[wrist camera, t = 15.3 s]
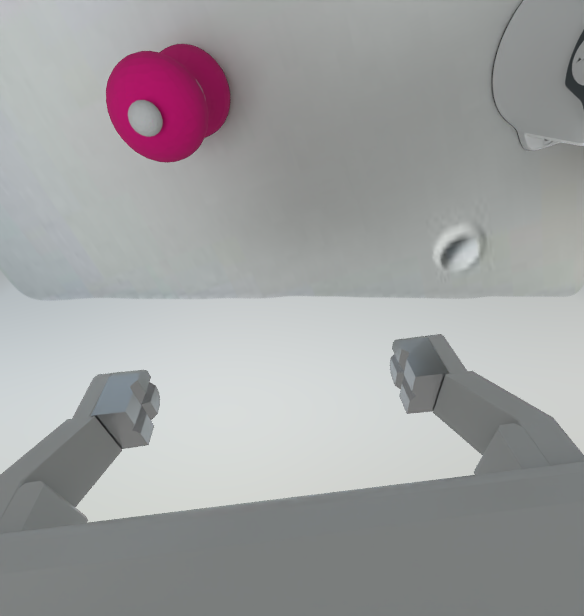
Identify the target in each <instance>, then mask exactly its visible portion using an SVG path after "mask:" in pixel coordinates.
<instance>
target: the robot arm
mask: <svg viewBox="0 0 584 616" xmlns="http://www.w3.org/2000/svg"><path fill="white" fill-rule="evenodd" d="M493 94H494V99H495V103H496V105H497V108H498V110H499V112H500V113H501V115H502V116H503V117H504V119H505V120H506V121H508V122H509V123H510V124H511V125H512V126H514V127H515V129H516V130H517V131H518V135H519V139H520V142H521V145H522V147H523V148H524V149H526V150H531V151H536V150H540V149H543V148H546V147H549V146H553V145H556V144H559V143H567V144H572V145H578V146H584V0H523V2H522V3H521V5H520V6H519V8H518V9H517V11H516V12H515V14H514V16H513V17H512V19H511V21H510V23H509V25H508V27H507V29H506V31H505V33H504V35H503V38H502V40H501V43H500V46H499V49H498V52H497V56H496V60H495V64H494V70H493ZM392 349H393V351H394V355H393V356H392V357H391V360H390V370H391V376H392V379H393V381H394V384H395V386H397V387H398V388H400V389H401V391H400V399H401V401H402V403H403V406H404V408H405V410H406V413H407V414H409V413H420V412H430V411H433V413H434V414H435V415H437V416H438V417H439V418H440V419H441V420H442V421H443V422H445V423H446V424H447V425H448V426H449V427H450V428H452V429H453V430H454V431H455V432H456V433H457V434H459V435H460V436H461V437H462V438H463V439H464V440H466V441H467V442H468V443H469V444H470V445H471V446H472V447H473V448H475V449H476V450H477V451H478V452H479V453H481V454H482V455H483V456H482V458H481V460H480V462H479V463H478V465H477V467H476V469H475V471H474V474H475V475H470V476H462V477H455V478H447V479H438V480H430V481H422V482H414V483H406V484H397V485H389V486H382V487H374V488H365V489H357V490H348V491H341V492H332V493H324V494H317V495H308V496H300V497H291V498H283V499H276V500H267V501H259V502H252V503H243V504H235V505H227V506H219V507H211V508H204V509H203V508H202V509H194V510H187V511H179V512H170V513H162V514H154V515H146V516H138V517H130V518H122V519H114V520H106V521H97V522H89V523H87V521H88V520H87V517H86V516H85V515H84V514H83V513H81V512H80V511H79V510H78V509H76V508H75V507H76V506H77V505H78V503H79V502H80V501H81V500H82V498H83V497H84V496H85V495H86V494H87V492H88V491H89V490H90V489H91V488H92V486H93V485H94V484H95V483H96V482H97V480H98V479H99V478H100V477H101V475H102V474H103V473H104V472H105V471H106V469H107V468H108V467H109V465H110V464H111V463H112V462H113V461H114V460H115V458H116V457H117V456H118V455H119V454H120V452H121V451H122V449H124V448H131V447H138V446H145V445H149V442H150V438H151V435H152V431H153V428H154V425H153V423H152V421H151V420H152V419H153V418H154V417H155V416H156V415H157V414H158V410H159V406H160V396H159V392H158V389H157V387H156V386H155V385H153V384H152V383H150V382H149V381H150V378H151V376H150V375H149V373H148V371H146V370H138V371H128V372H117V373H110V374H99V375H97V376H95V377H94V378H93V380H92V382H91V384H90V386H89V387H88V390H87V391H86V393H85V395H84V397H83V399H82V401H81V403H80V405H79V407H78V409H77V411H76V412H75V415H74V416H73V418H72V419H68V420H66V421H65V422H64V423H63V424H61V425H60V426H59V427H58V428H56V429H55V430H54V431H53V432H52V433H50V434H49V435H48V436H47V437H46V438H44V439H43V440H42V441H41V442H39V443H38V444H37V445H36V446H35V447H34V448H32V449H31V450H30V451H29V452H27V453H26V454H25V455H24V456H23V457H21V459H19V460H18V461H17V462H15V463H14V464H13V465H12V466H11V467H9V468H8V469H7V470H6V471H5V472H3V473H2V474H1V475H0V616H584V455H583V454H582V453H581V451H580V450H579V449H578V448H577V447H576V445H575V444H574V443H573V442H572V440H571V439H570V438H569V437H568V435H567V434H566V433H565V432H564V430H563V429H562V428H561V427H560V426H559V424H558V423H557V422H556V421H555V420H554V418H553V417H551V416H549V415H547V414H546V413H544V412H542V411H541V410H539V409H537V408H536V407H534V406H532V405H530V404H528V403H527V402H525V401H523V400H521V399H520V398H518V397H516V396H515V395H513V394H511V393H509V392H508V391H506V390H504V389H502V388H501V387H499V386H497V385H496V384H494V383H492V382H490V381H489V380H487V379H485V378H483V377H482V376H480V375H478V374H477V373H475V372H473V371H467V370H466V369H465V367H464V365H463V364H462V363H461V361H460V360H459V358H458V357H457V355H456V354H455V352H454V351H453V349H452V348H451V346H450V345H449V343H448V342H447V340H446V339H445V337H444V336H442V335H441V334H438V335H430V336H425V337H424V336H421V337H414V338H407V339H398V340H395V341H394V342H393V346H392Z"/></svg>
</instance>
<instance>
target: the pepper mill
mask: <svg viewBox="0 0 584 616" xmlns="http://www.w3.org/2000/svg"><path fill="white" fill-rule="evenodd" d="M106 102H107V109H108V113H109V116H110V119H111V121H112V123H113V125H114V127H115V129H116V131H117V132H118V134H119V135H120V136H121V138H122V139H123V140H124V141H125V142H126V143H127V144H128V145H129V146H130V147H131V148H132V149H133V150H134V151H136V152H137V153H139V154H140V155H142V156H144V157H147V158H149V159H152V160H155V161H159V162H176V161H179V160H182V159H185V158H187V157H188V156H190V155H191V154H193V153H194V152H195V151H196V150H197V149H198V148H199V146H200V145H201V143H202V141H203V139H204V138H205V137H208V136H210V135H212V134H213V133H215V132H216V131H217V130H218V129H219V128H220V127H221V126H222V125H223V123H224V122H225V120H226V118H227V116H228V112H229V108H230V91H229V86H228V82H227V80H226V77H225V75H224V73H223V71H222V69H221V68H220V66H219V65H218V63H217V62H216V61H215V60H214V59H213V58H212V57H211V56H210V55H209V54H208V53H206V52H205V51H204V50H202V49H200V48H198V47H196V46H193V45H188V44H176V45H172V46H170V47H167V48H165V49H164V50H162V51H161V52H160V53H158V52H153V51H141V52H137V53H133V54H130V55H128V56H126V57H125V58H124V59H122V60H121V61H120V62H119V63H118V64H117V65H116V66H115V68H114V69H113V71H112V73H111V75H110V77H109V79H108V82H107V87H106Z"/></svg>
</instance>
